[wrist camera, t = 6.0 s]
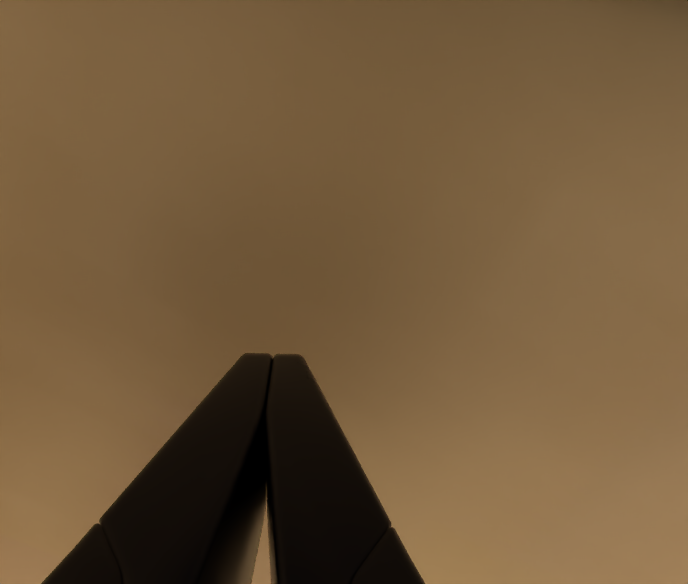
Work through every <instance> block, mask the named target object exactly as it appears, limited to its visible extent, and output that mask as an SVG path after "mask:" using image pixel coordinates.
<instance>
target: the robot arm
mask: <svg viewBox="0 0 688 584" xmlns="http://www.w3.org/2000/svg"><path fill="white" fill-rule="evenodd" d="M266 501H267V516H268V538H269V556H270V573H271V584H425V582H424V581H423V579H422V577H421V575H420V574H419V572H418V570H417V569H416V567H415V565H414V563H413V562H412V560H411V558H410V556H409V555H408V553H407V551H406V549H405V547H404V545H403V543H402V542H401V540H400V538H399V536H398V534H397V532H396V530H395V529H394V528H392V527H391V521H390V520H389V518H388V516H387V514H386V512H385V510H384V508H383V506H382V504H381V503H380V501H379V499H378V497H377V495H376V493H375V491H374V489H373V487H372V486H371V484H370V482H369V480H368V478H367V476H366V474H365V472H364V470H363V469H362V467H361V465H360V463H359V461H358V459H357V457H356V455H355V454H354V452H353V450H352V448H351V446H350V444H349V442H348V440H347V438H346V437H345V435H344V433H343V431H342V429H341V427H340V425H339V423H338V421H337V420H336V418H335V416H334V414H333V412H332V410H331V408H330V406H329V404H328V403H327V401H326V399H325V397H324V395H323V393H322V391H321V389H320V387H319V386H318V384H317V382H316V380H315V378H314V376H313V374H312V372H311V370H310V369H309V367H308V365H307V363H306V361H305V359H304V358H303V356H301V355H299V354H276V355H275V356H274V357H272V356H271V355H270V354H267V353H245V354H243V355H242V356H241V357H240V358H239V359H238V360H237V362H236V363H235V364H234V365H233V366H232V367H231V369H230V370H229V371H228V372H227V373H226V374H225V375H224V377H223V378H222V379H221V380H220V381H219V382H218V383H217V385H216V386H215V387H214V388H213V389H212V390H211V392H210V393H209V394H208V395H207V396H206V397H205V398H204V400H203V401H202V402H201V403H200V404H199V405H198V406H197V408H196V409H195V410H194V411H193V412H192V413H191V415H190V416H189V417H188V418H187V419H186V420H185V421H184V423H183V424H182V425H181V426H180V427H179V428H178V429H177V431H176V432H175V433H174V434H173V435H172V436H171V437H170V439H169V440H168V441H167V442H166V443H165V444H164V446H163V447H162V448H161V449H160V450H159V451H158V452H157V454H156V455H155V456H154V457H153V458H152V459H151V460H150V462H149V463H148V464H147V465H146V466H145V467H144V469H143V470H142V471H141V472H140V473H139V474H138V475H137V477H136V478H135V479H134V480H133V481H132V482H131V483H130V485H129V486H128V487H127V488H126V489H125V490H124V492H123V493H122V494H121V495H120V496H119V497H118V498H117V500H116V501H115V502H114V503H113V504H112V505H111V506H110V508H109V509H108V510H107V511H106V512H105V513H104V514H103V516H102V517H101V518H100V520H99V523H100V524H94V525H93V527H92V528H91V529H90V530H89V531H88V532H87V534H86V535H85V536H84V537H83V538H82V539H81V541H80V542H79V543H78V544H77V545H76V546H75V547H74V548H73V550H72V551H71V552H70V553H69V554H68V555H67V556H66V557H65V558H64V559H63V560H62V562H61V563H60V564H59V565H58V566H57V567H56V568H55V569H54V570H53V571H52V572H51V574H50V575H49V576H48V577H47V578H46V579H45V580H44V581H43V582H42V583H41V584H251V581H252V576H253V571H254V566H255V561H256V556H257V551H258V546H259V541H260V536H261V531H262V526H263V521H264V515H265V509H266Z"/></svg>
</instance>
